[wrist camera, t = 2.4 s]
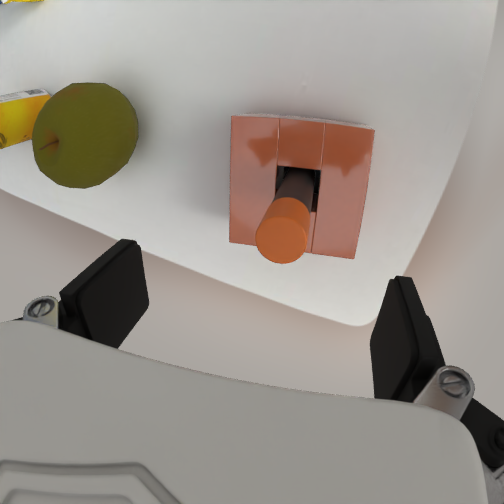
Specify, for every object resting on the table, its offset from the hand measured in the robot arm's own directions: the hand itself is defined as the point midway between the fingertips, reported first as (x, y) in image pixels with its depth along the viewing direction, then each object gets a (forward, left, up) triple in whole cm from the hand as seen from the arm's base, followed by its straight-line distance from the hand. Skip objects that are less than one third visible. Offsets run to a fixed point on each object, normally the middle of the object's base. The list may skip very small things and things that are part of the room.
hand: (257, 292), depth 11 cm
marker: (0, 0, -18) cm, 18 cm away
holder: (0, 0, -18) cm, 18 cm away
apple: (+19, -4, -19) cm, 27 cm away
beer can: (+31, -7, -19) cm, 37 cm away
